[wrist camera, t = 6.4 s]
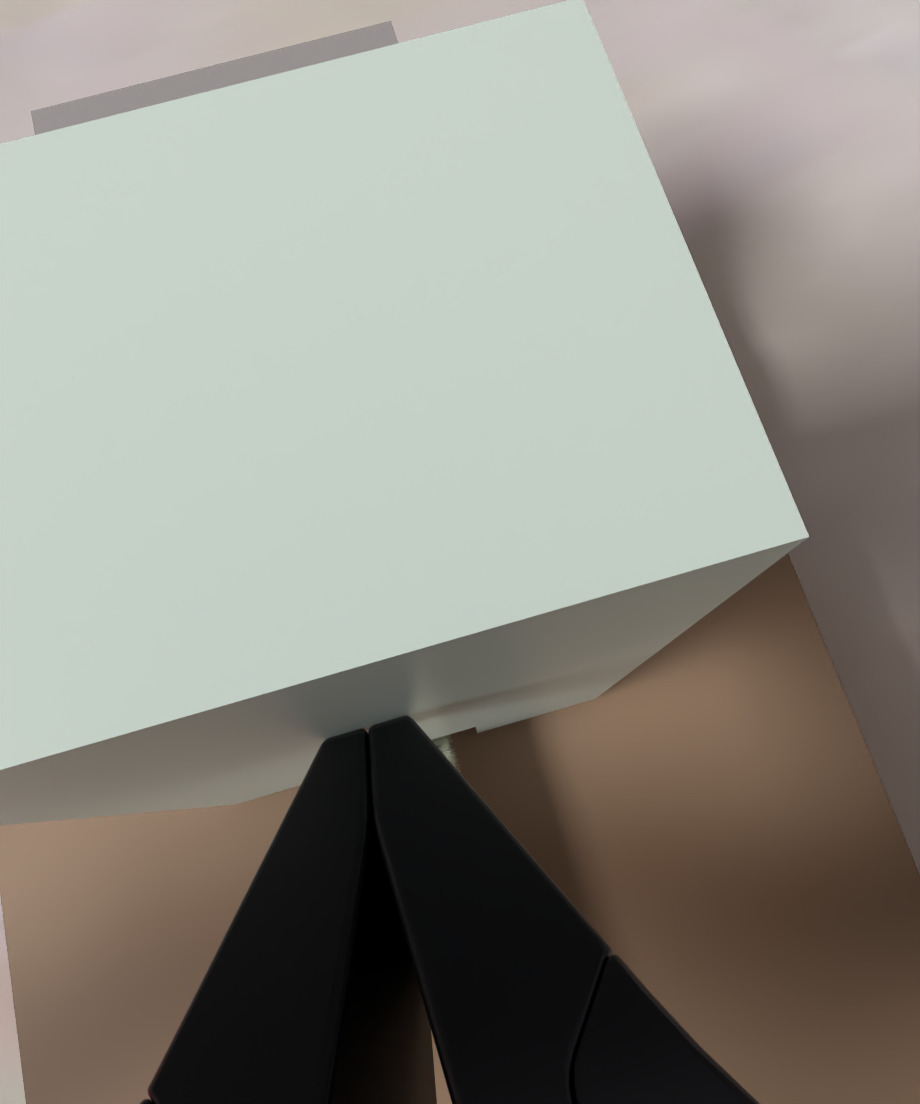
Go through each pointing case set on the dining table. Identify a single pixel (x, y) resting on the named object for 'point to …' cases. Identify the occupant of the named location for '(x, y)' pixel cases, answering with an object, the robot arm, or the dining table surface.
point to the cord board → (556, 874)
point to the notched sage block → (352, 419)
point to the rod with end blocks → (218, 79)
